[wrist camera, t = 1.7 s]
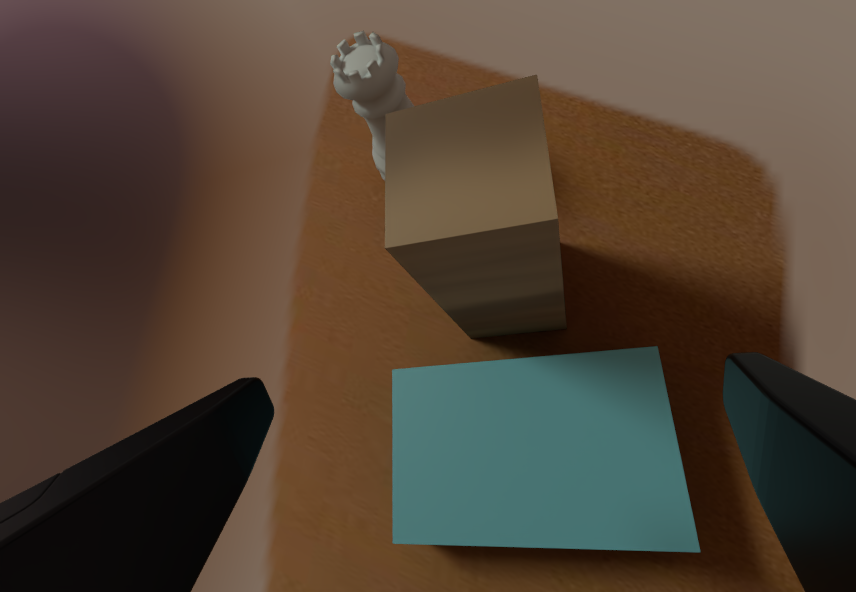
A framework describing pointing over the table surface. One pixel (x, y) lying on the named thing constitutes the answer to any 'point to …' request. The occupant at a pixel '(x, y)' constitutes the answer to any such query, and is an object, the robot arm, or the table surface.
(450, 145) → the tan wooden block
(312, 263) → the table surface
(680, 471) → the base block
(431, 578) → the table surface
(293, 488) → the table surface
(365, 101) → the rook chess piece
